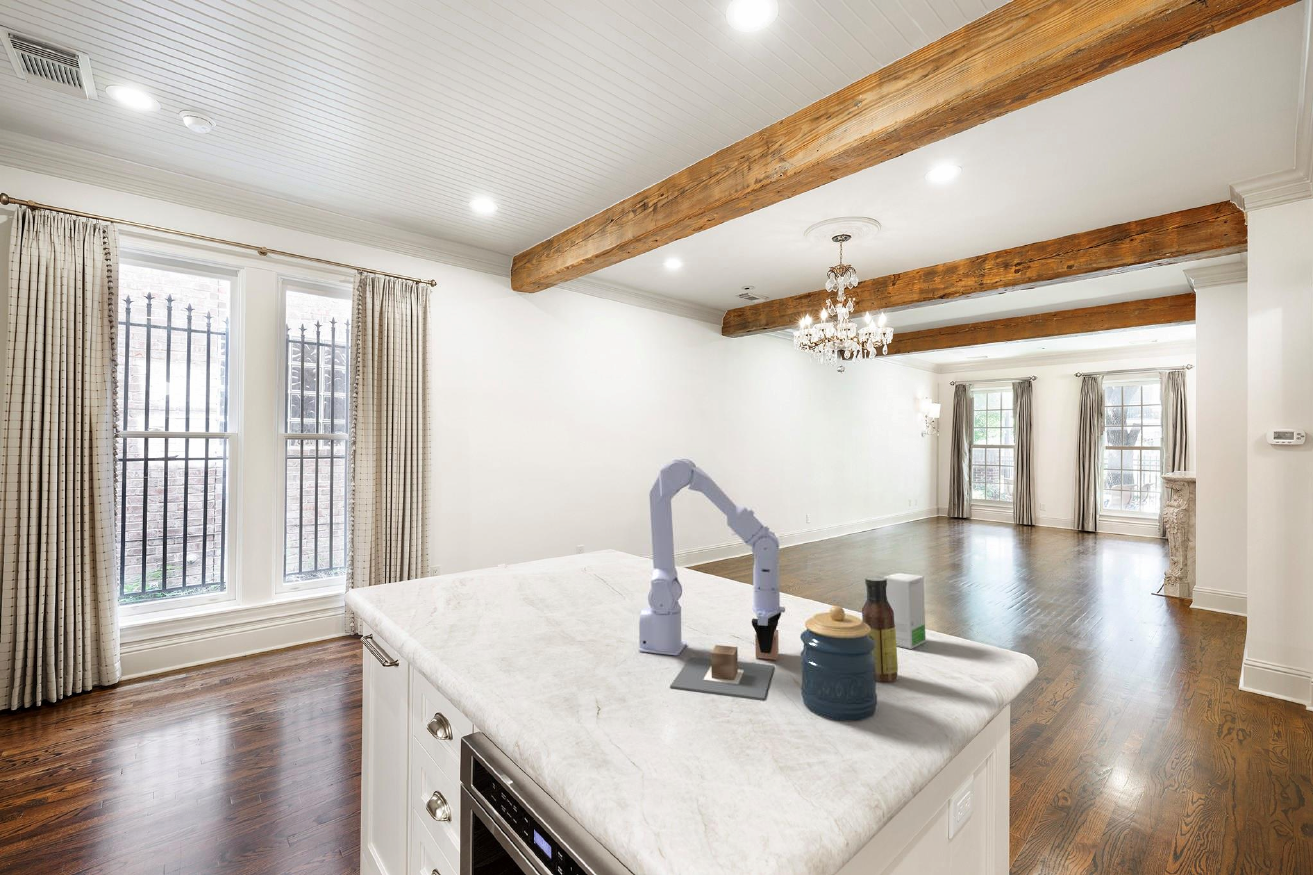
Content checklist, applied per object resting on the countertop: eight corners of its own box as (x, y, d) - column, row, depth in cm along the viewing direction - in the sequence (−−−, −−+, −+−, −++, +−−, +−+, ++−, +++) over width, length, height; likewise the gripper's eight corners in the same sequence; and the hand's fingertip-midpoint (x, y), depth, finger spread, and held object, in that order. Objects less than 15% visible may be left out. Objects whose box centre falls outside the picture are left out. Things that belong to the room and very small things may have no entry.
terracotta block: (755, 657, 121) (755, 634, 122) (758, 650, 126) (758, 628, 126) (776, 659, 120) (776, 636, 120) (778, 652, 124) (778, 630, 124)
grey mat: (670, 687, 107) (670, 685, 107) (690, 657, 122) (690, 655, 122) (764, 700, 101) (764, 697, 101) (773, 667, 117) (773, 664, 117)
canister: (869, 730, 90) (867, 621, 91) (791, 710, 97) (790, 610, 98) (883, 699, 101) (881, 602, 102) (813, 683, 108) (811, 593, 109)
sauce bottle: (896, 673, 113) (894, 575, 113) (899, 685, 107) (897, 582, 107) (862, 669, 115) (860, 573, 115) (863, 681, 109) (861, 580, 110)
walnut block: (711, 677, 110) (711, 652, 110) (716, 669, 115) (715, 644, 115) (734, 680, 109) (733, 654, 109) (737, 671, 113) (737, 647, 113)
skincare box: (911, 650, 125) (909, 581, 126) (882, 642, 130) (881, 576, 131) (926, 641, 131) (925, 575, 131) (899, 634, 136) (898, 571, 136)
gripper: (781, 596, 115) (782, 662, 115) (787, 580, 129) (788, 639, 129) (747, 594, 117) (748, 658, 117) (757, 578, 131) (757, 636, 131)
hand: (767, 648), depth 123 cm, fingers closed on terracotta block, 4 cm apart
